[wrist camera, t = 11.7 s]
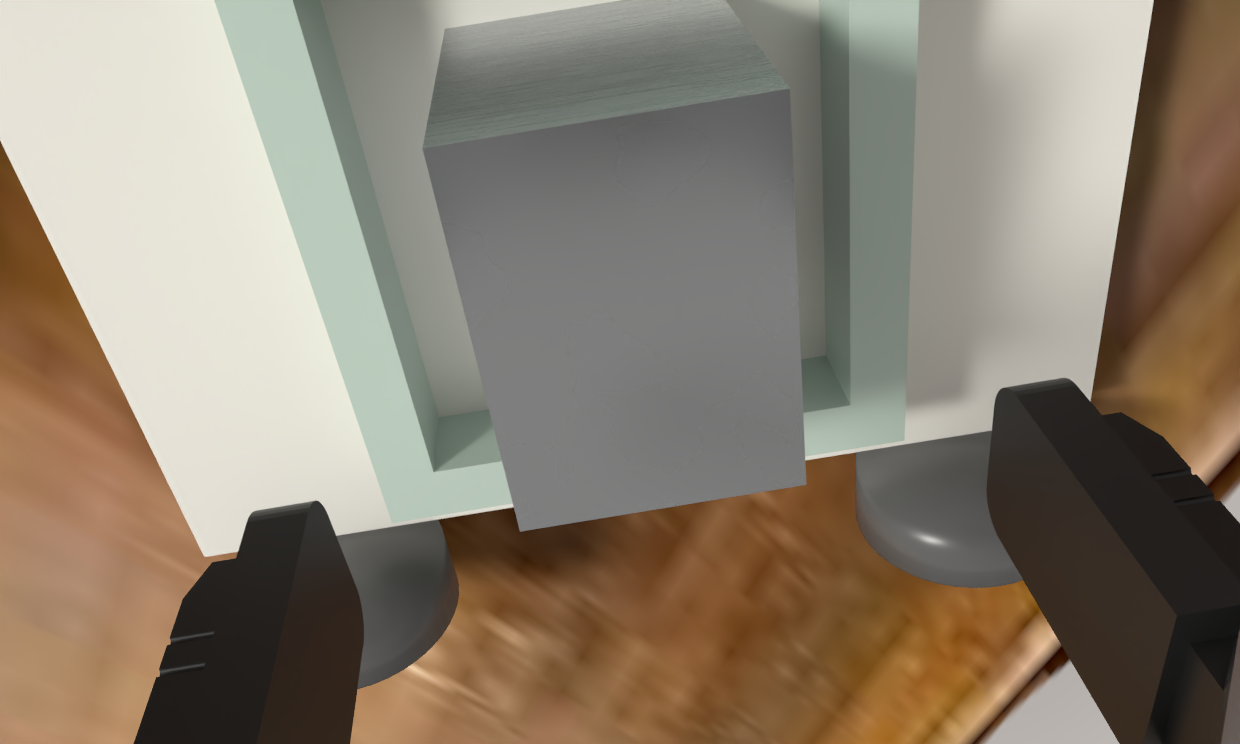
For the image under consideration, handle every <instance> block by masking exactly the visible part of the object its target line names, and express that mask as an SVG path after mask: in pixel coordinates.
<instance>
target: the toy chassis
mask: <svg viewBox="0 0 1240 744" xmlns="http://www.w3.org/2000/svg"><path fill="white" fill-rule="evenodd" d="M614 1H620V0H0V141H1V143H2V145H3V147H4V149H5V151H6V153H7V155H8V157H9V159H10V162H11V164H12V166H13V168H14V170H15V172H16V174H17V176H18V178H19V180H20V182H21V184H22V186H23V188H24V190H25V192H26V194H27V196H28V198H29V200H30V202H31V204H32V206H33V208H34V210H35V212H36V215H37V217H38V219H39V221H40V223H41V225H42V227H43V229H44V231H45V233H46V235H47V237H48V239H49V241H50V243H51V245H52V247H53V249H54V251H55V253H56V255H57V257H58V259H59V261H60V263H61V266H62V268H63V270H64V272H65V274H66V276H67V278H68V280H69V282H70V284H71V286H72V288H73V290H74V292H75V294H76V296H77V298H78V300H79V302H80V304H81V306H82V308H83V310H84V312H85V314H86V317H87V319H88V321H89V323H90V325H91V327H92V329H93V331H94V333H95V335H96V337H97V339H98V341H99V343H100V345H101V347H102V349H103V351H104V353H105V355H106V357H107V359H108V361H109V363H110V365H111V368H112V370H113V372H114V374H115V376H116V378H117V380H118V382H119V384H120V386H121V388H122V390H123V392H124V394H125V396H126V398H127V400H128V402H129V404H130V406H131V408H132V410H133V412H134V414H135V416H136V418H137V421H138V423H139V425H140V427H141V429H142V431H143V433H144V435H145V437H146V439H147V441H148V443H149V445H150V447H151V449H152V451H153V453H154V455H155V457H156V459H157V461H158V463H159V465H160V467H161V469H162V472H163V474H164V476H165V478H166V480H167V482H168V484H169V486H170V488H171V490H172V492H173V494H174V496H175V498H176V500H177V502H178V504H179V506H180V508H181V510H182V512H183V514H184V516H185V518H186V520H187V523H188V525H189V527H190V529H191V531H192V533H193V535H194V537H195V539H196V541H197V543H198V545H199V547H200V549H201V551H202V553H203V555H204V557H207V556H213V555H220V554H226V553H232V552H238V550H239V547H240V544H241V540H242V537H243V533H244V530H245V527H246V523H247V520H248V518H249V516H250V514H251V513H252V512H253V511H257V510H263V509H269V508H275V507H281V506H287V505H293V504H298V503H304V502H310V501H319V502H320V503H321V504H322V505H323V506H324V508H325V510H326V512H327V514H328V516H329V519H330V521H331V524H332V526H333V529H334V532H335V534H336V537H337V539H338V542H339V544H340V547H341V549H342V552H343V554H344V557H345V559H346V562H347V564H348V567H349V569H350V572H351V574H352V577H353V579H354V582H355V585H356V587H357V590H358V593H359V597H360V601H361V605H362V612H363V621H364V643H363V651H362V658H361V665H360V673H359V680H358V687H357V689H360V688H363V687H366V686H370V685H373V684H375V683H378V682H380V681H382V680H385V679H387V678H389V677H391V676H393V675H395V674H397V673H399V672H400V671H402V670H404V669H405V668H407V667H408V666H410V665H411V664H413V663H414V662H415V661H417V660H418V659H419V658H420V657H422V656H423V655H424V654H425V653H426V652H427V651H428V650H429V649H430V648H431V647H432V646H433V645H434V644H435V643H436V642H437V641H438V639H439V638H440V637H441V636H442V635H443V633H444V632H445V630H446V628H447V627H448V625H449V624H450V622H451V620H452V617H453V615H454V613H455V610H456V606H457V603H458V596H459V584H458V580H457V575H456V572H455V569H454V565H453V562H452V559H451V556H450V552H449V549H448V546H447V542H446V539H445V536H444V533H443V529H442V527H441V525H440V522H439V520H438V519H444V518H450V517H456V516H462V515H469V514H475V513H481V512H487V511H494V510H500V509H506V508H512V507H514V506H513V502H512V498H511V495H510V491H509V487H508V483H507V479H506V475H505V471H504V467H503V463H502V459H501V455H500V451H499V447H498V443H497V440H496V436H495V432H494V428H493V424H492V420H491V416H490V412H489V408H488V404H487V400H486V396H485V392H484V388H483V385H482V381H481V377H480V373H479V369H478V365H477V361H476V357H475V353H474V349H473V345H472V341H471V337H470V333H469V329H468V326H467V322H466V318H465V314H464V310H463V306H462V302H461V298H460V294H459V290H458V286H457V282H456V278H455V274H454V271H453V267H452V263H451V259H450V255H449V251H448V247H447V243H446V239H445V235H444V231H443V227H442V223H441V219H440V216H439V212H438V208H437V204H436V200H435V196H434V192H433V188H432V184H431V180H430V176H429V172H428V168H427V164H426V161H425V157H424V153H423V149H422V148H423V143H424V137H425V132H426V127H427V121H428V116H429V111H430V105H431V100H432V95H433V90H434V84H435V79H436V74H437V68H438V63H439V58H440V52H441V47H442V42H443V36H444V31H445V29H448V28H454V27H460V26H466V25H472V24H478V23H484V22H491V21H497V20H503V19H509V18H515V17H521V16H527V15H534V14H540V13H546V12H552V11H558V10H564V9H571V8H577V7H583V6H589V5H595V4H601V3H607V2H614ZM726 2H727V3H728V5H729V6H730V7H731V9H732V10H733V11H734V13H735V14H736V16H737V17H738V18H739V20H740V21H741V22H742V24H743V25H744V26H745V28H746V29H747V31H748V32H749V33H750V35H751V36H752V37H753V39H754V40H755V42H756V43H757V44H758V46H759V47H760V48H761V50H762V51H763V52H764V54H765V55H766V57H767V58H768V59H769V61H770V62H771V63H772V65H773V66H774V68H775V69H776V70H777V72H778V73H779V74H780V76H781V77H782V78H783V80H784V81H785V83H786V84H787V85H788V87H789V88H790V104H791V128H792V152H793V176H794V201H795V225H796V249H797V273H798V297H799V321H800V345H801V369H802V394H803V418H804V442H805V460H811V459H817V458H823V457H830V456H836V455H842V454H848V453H855V452H857V453H856V518H857V522H858V525H859V528H860V530H861V532H862V534H863V536H864V538H865V539H866V541H867V542H868V543H869V545H870V546H871V547H872V548H873V549H874V550H875V551H876V552H877V553H878V554H879V555H880V556H881V557H883V558H884V559H885V560H887V561H888V562H889V563H891V564H892V565H894V566H896V567H897V568H899V569H901V570H903V571H905V572H907V573H909V574H911V575H913V576H916V577H919V578H922V579H924V580H927V581H931V582H935V583H939V584H944V585H950V586H955V587H968V588H985V587H995V586H1002V585H1007V584H1011V583H1015V582H1018V581H1021V580H1023V579H1022V577H1021V575H1020V574H1019V572H1018V570H1017V569H1016V567H1015V565H1014V563H1013V562H1012V560H1011V558H1010V557H1009V555H1008V553H1007V552H1006V550H1005V548H1004V546H1003V545H1002V543H1001V541H1000V540H999V538H998V536H997V534H996V531H995V529H994V526H993V524H992V520H991V517H990V513H989V509H988V503H987V491H986V487H987V475H988V464H989V454H990V444H991V434H992V423H993V413H994V404H995V399H996V395H997V393H998V391H999V390H1000V389H1002V388H1005V387H1011V386H1016V385H1022V384H1028V383H1034V382H1040V381H1046V380H1052V379H1058V378H1068V379H1070V380H1072V381H1073V382H1074V383H1075V384H1076V385H1077V386H1078V387H1079V389H1080V390H1081V391H1082V392H1083V393H1084V395H1085V396H1086V397H1087V398H1088V399H1089V401H1091V395H1092V389H1093V382H1094V376H1095V370H1096V363H1097V357H1098V350H1099V344H1100V338H1101V331H1102V325H1103V319H1104V312H1105V306H1106V300H1107V293H1108V287H1109V281H1110V274H1111V268H1112V262H1113V255H1114V249H1115V243H1116V236H1117V230H1118V224H1119V217H1120V211H1121V205H1122V198H1123V192H1124V186H1125V179H1126V173H1127V167H1128V160H1129V154H1130V148H1131V141H1132V135H1133V129H1134V122H1135V116H1136V110H1137V103H1138V97H1139V91H1140V84H1141V78H1142V72H1143V65H1144V59H1145V53H1146V46H1147V40H1148V34H1149V27H1150V21H1151V15H1152V8H1153V2H1154V0H726Z"/></svg>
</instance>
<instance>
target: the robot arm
mask: <svg viewBox="0 0 1240 744" xmlns="http://www.w3.org/2000/svg"><path fill="white" fill-rule="evenodd" d="M986 491H987V503H988V509H989V513H990V517H991V520H992V524H993V526H994V529H995V531H996V534H997V536H998V538H999V540H1000V541H1001V543H1002V545H1003V546H1004V548H1005V550H1006V552H1007V553H1008V555H1009V557H1010V558H1011V560H1012V562H1013V563H1014V565H1015V567H1016V569H1017V570H1018V572H1019V574H1020V575H1021V577H1022V579H1023V580H1024V582H1025V584H1026V586H1027V587H1028V589H1029V591H1030V592H1031V594H1032V596H1033V597H1034V599H1035V601H1036V602H1037V604H1038V606H1039V608H1040V609H1041V611H1042V613H1043V614H1044V616H1045V618H1046V619H1047V621H1048V623H1049V625H1050V626H1051V628H1052V630H1053V631H1054V633H1055V635H1056V636H1057V638H1058V640H1059V642H1060V643H1061V645H1062V647H1063V648H1064V650H1065V652H1066V653H1067V655H1068V657H1069V658H1070V660H1071V662H1072V664H1073V665H1074V667H1075V668H1076V670H1077V672H1078V674H1079V675H1080V677H1081V679H1082V680H1083V682H1084V684H1085V685H1086V687H1087V689H1088V691H1089V692H1090V694H1091V696H1092V698H1093V699H1094V701H1095V702H1096V704H1097V706H1098V707H1099V709H1100V711H1101V713H1102V714H1103V716H1104V718H1105V719H1106V721H1107V723H1108V724H1109V726H1110V728H1111V730H1112V731H1113V733H1114V735H1115V737H1116V738H1117V740H1118V742H1119V743H1120V744H1240V523H1239V522H1238V521H1237V520H1236V519H1235V518H1234V516H1233V515H1232V514H1231V513H1230V512H1229V511H1228V510H1227V509H1226V507H1225V506H1224V505H1223V504H1222V503H1221V502H1220V501H1215V499H1214V494H1213V493H1212V492H1211V490H1210V489H1209V488H1208V487H1207V486H1206V485H1205V484H1204V483H1203V481H1202V480H1201V479H1200V478H1199V477H1198V476H1197V475H1192V473H1191V468H1190V467H1189V466H1188V465H1187V463H1186V462H1185V461H1184V460H1183V459H1182V458H1181V457H1180V455H1179V454H1178V453H1177V452H1176V451H1175V450H1174V449H1173V448H1172V446H1171V445H1170V444H1169V443H1168V442H1167V441H1166V440H1165V439H1164V437H1162V436H1161V435H1159V434H1157V433H1156V432H1154V431H1152V430H1150V429H1149V428H1147V427H1145V426H1144V425H1142V424H1140V423H1138V422H1137V421H1135V420H1133V419H1132V418H1130V417H1128V416H1126V415H1125V414H1123V413H1121V412H1120V413H1114V414H1108V415H1101V414H1100V413H1099V411H1098V410H1097V409H1096V408H1095V407H1094V405H1093V404H1092V403H1091V402H1090V401H1089V399H1088V398H1087V397H1086V396H1085V395H1084V393H1083V392H1082V391H1081V390H1080V389H1079V387H1078V386H1077V385H1076V384H1075V383H1074V382H1073V381H1072V380H1070V379H1068V378H1058V379H1052V380H1046V381H1040V382H1034V383H1028V384H1022V385H1016V386H1011V387H1005V388H1002V389H1000V390H999V391H998V393H997V395H996V399H995V404H994V413H993V423H992V434H991V444H990V454H989V464H988V475H987V487H986ZM170 639H171V644H170V645H167V647H166V650H165V653H164V656H163V659H162V662H161V665H160V668H159V670H160V677H156V680H155V683H154V686H153V689H152V691H151V694H150V697H149V700H148V703H147V706H146V709H145V712H144V715H143V718H142V721H141V724H140V727H139V730H138V733H137V736H136V739H135V741H134V744H350V739H351V731H352V724H353V717H354V709H355V702H356V695H357V687H358V680H359V673H360V665H361V658H362V651H363V643H364V621H363V612H362V605H361V601H360V597H359V593H358V590H357V587H356V585H355V582H354V579H353V577H352V574H351V572H350V569H349V567H348V564H347V562H346V559H345V557H344V554H343V552H342V549H341V547H340V544H339V542H338V539H337V537H336V534H335V532H334V529H333V526H332V524H331V521H330V519H329V516H328V514H327V512H326V510H325V508H324V506H323V505H322V504H321V503H320V502H319V501H310V502H304V503H298V504H293V505H287V506H281V507H275V508H269V509H263V510H257V511H253V512H252V513H251V514H250V516H249V518H248V520H247V523H246V527H245V530H244V533H243V537H242V540H241V544H240V547H239V550H238V554H237V557H236V559H230V560H224V561H218V562H212V563H211V565H210V566H209V567H208V568H207V570H206V571H205V572H204V573H203V575H202V576H201V577H200V578H199V580H198V581H197V582H196V583H195V585H194V586H193V587H192V588H191V590H190V591H189V592H188V593H187V595H186V596H185V597H184V598H183V600H182V603H181V606H180V609H179V612H178V615H177V618H176V621H175V624H174V627H173V630H172V633H171V636H170Z"/></svg>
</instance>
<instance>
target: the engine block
mask: <svg viewBox="0 0 1240 744" xmlns="http://www.w3.org/2000/svg"><path fill="white" fill-rule="evenodd" d="M422 149H423V153H424V157H425V161H426V164H427V168H428V172H429V176H430V180H431V184H432V188H433V192H434V196H435V200H436V204H437V208H438V212H439V216H440V219H441V223H442V227H443V231H444V235H445V239H446V243H447V247H448V251H449V255H450V259H451V263H452V267H453V271H454V274H455V278H456V282H457V286H458V290H459V294H460V298H461V302H462V306H463V310H464V314H465V318H466V322H467V326H468V329H469V333H470V337H471V341H472V345H473V349H474V353H475V357H476V361H477V365H478V369H479V373H480V377H481V381H482V385H483V388H484V392H485V396H486V400H487V404H488V408H489V412H490V416H491V420H492V424H493V428H494V432H495V436H496V440H497V443H498V447H499V451H500V455H501V459H502V463H503V467H504V471H505V475H506V479H507V483H508V487H509V491H510V495H511V498H512V502H513V506H514V510H515V514H516V518H517V522H518V526H519V530H520V532H521V531H527V530H533V529H539V528H545V527H551V526H557V525H564V524H570V523H576V522H582V521H588V520H594V519H600V518H606V517H612V516H618V515H624V514H631V513H637V512H643V511H649V510H655V509H661V508H667V507H673V506H679V505H685V504H691V503H698V502H704V501H710V500H716V499H722V498H728V497H734V496H740V495H746V494H752V493H758V492H764V491H771V490H777V489H783V488H789V487H795V486H801V485H806V466H805V442H804V418H803V394H802V369H801V345H800V321H799V297H798V273H797V249H796V225H795V201H794V176H793V152H792V128H791V104H790V88H789V87H788V85H787V84H786V83H785V81H784V80H783V78H782V77H781V76H780V74H779V73H778V72H777V70H776V69H775V68H774V66H773V65H772V63H771V62H770V61H769V59H768V58H767V57H766V55H765V54H764V52H763V51H762V50H761V48H760V47H759V46H758V44H757V43H756V42H755V40H754V39H753V37H752V36H751V35H750V33H749V32H748V31H747V29H746V28H745V26H744V25H743V24H742V22H741V21H740V20H739V18H738V17H737V16H736V14H735V13H734V11H733V10H732V9H731V7H730V6H729V5H728V3H727V2H726V0H620V1H614V2H607V3H601V4H595V5H589V6H583V7H577V8H571V9H564V10H558V11H552V12H546V13H540V14H534V15H527V16H521V17H515V18H509V19H503V20H497V21H491V22H484V23H478V24H472V25H466V26H460V27H454V28H448V29H445V31H444V36H443V42H442V47H441V52H440V58H439V63H438V68H437V74H436V79H435V84H434V90H433V95H432V100H431V105H430V111H429V116H428V121H427V127H426V132H425V137H424V143H423V148H422Z"/></svg>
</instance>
